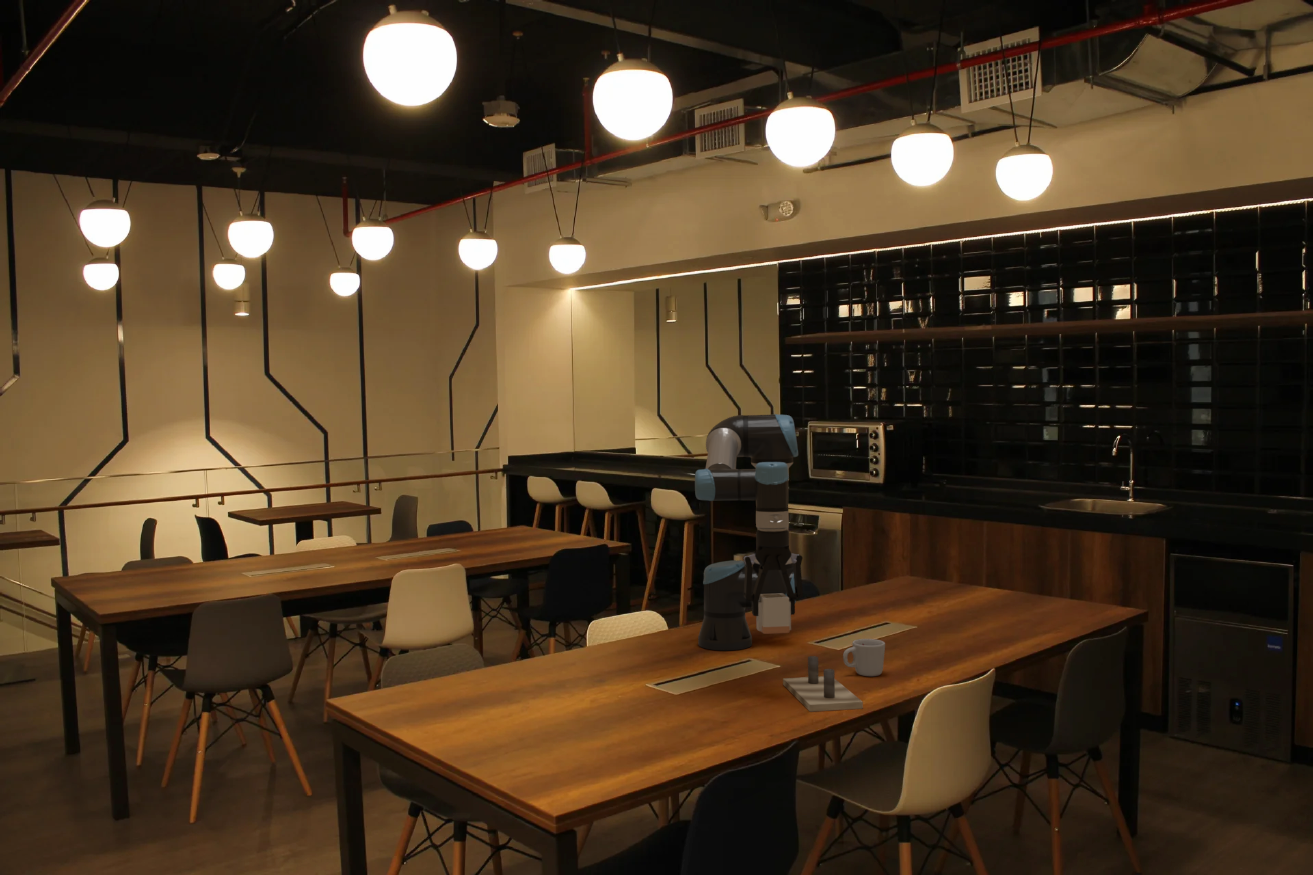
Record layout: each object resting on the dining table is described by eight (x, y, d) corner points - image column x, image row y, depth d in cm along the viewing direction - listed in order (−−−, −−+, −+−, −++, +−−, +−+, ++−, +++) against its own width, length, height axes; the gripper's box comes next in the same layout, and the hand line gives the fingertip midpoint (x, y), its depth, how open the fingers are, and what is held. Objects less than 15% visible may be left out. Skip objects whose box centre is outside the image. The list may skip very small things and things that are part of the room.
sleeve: (757, 628, 233) (757, 594, 233) (783, 627, 234) (782, 593, 234) (763, 633, 227) (763, 598, 227) (789, 632, 228) (789, 597, 228)
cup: (851, 680, 243) (850, 647, 243) (836, 672, 250) (836, 640, 250) (891, 676, 246) (891, 644, 245) (875, 668, 253) (875, 637, 253)
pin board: (783, 684, 240) (782, 653, 240) (831, 681, 242) (830, 651, 241) (810, 711, 218) (809, 677, 218) (862, 708, 220) (862, 674, 220)
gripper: (734, 532, 225) (736, 634, 226) (817, 529, 227) (818, 631, 228) (728, 528, 233) (730, 627, 233) (808, 526, 235) (809, 624, 235)
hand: (773, 629), depth 230 cm, fingers closed on sleeve, 6 cm apart
